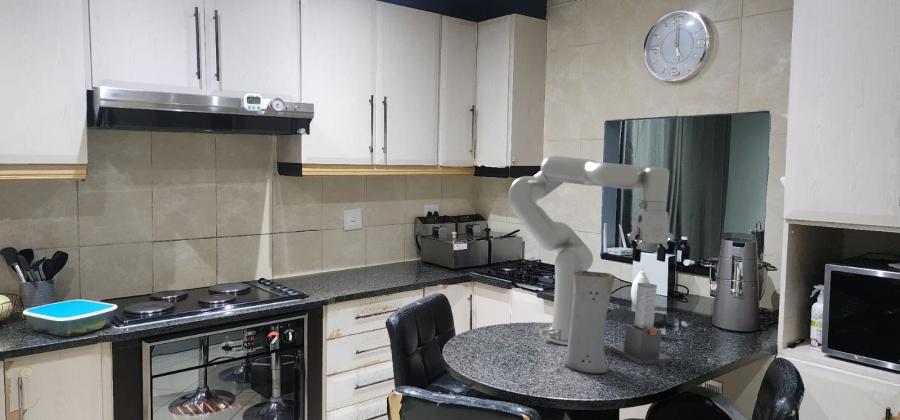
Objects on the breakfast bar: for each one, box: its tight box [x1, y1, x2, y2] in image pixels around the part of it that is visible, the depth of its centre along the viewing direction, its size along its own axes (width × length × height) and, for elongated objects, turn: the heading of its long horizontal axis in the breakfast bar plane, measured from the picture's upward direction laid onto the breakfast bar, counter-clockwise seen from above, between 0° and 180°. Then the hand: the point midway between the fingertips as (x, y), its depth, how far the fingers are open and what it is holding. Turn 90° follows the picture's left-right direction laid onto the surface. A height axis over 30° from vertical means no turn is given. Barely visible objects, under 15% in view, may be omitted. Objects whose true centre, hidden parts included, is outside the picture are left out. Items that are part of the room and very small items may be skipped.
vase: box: [564, 270, 616, 375], centre depth 177 cm, size 13×14×28 cm
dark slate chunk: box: [606, 307, 668, 330], centre depth 237 cm, size 15×22×5 cm
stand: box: [611, 324, 673, 366], centre depth 192 cm, size 12×14×10 cm
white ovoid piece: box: [630, 266, 650, 306], centre depth 261 cm, size 8×8×18 cm
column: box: [634, 282, 658, 331], centre depth 191 cm, size 4×4×16 cm
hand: (648, 261), depth 190 cm, fingers open, 9 cm apart
